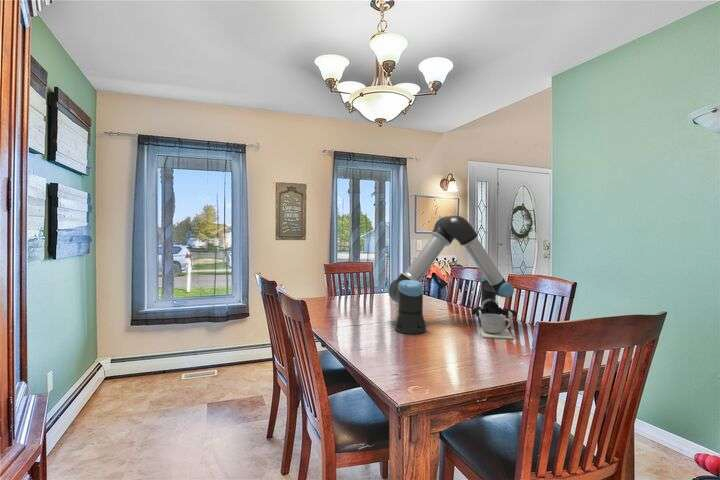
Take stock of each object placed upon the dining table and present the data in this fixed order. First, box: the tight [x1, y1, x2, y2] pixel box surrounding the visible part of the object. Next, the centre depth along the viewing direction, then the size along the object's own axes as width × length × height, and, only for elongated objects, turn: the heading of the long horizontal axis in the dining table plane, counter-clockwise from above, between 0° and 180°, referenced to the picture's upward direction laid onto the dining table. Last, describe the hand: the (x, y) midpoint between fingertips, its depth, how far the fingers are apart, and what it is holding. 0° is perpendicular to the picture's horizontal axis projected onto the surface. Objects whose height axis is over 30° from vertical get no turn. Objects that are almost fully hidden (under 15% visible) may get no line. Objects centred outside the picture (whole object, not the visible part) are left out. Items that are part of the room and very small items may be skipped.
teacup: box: [480, 314, 512, 334], centre depth 172 cm, size 14×11×8 cm
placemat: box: [478, 325, 515, 341], centre depth 174 cm, size 13×19×1 cm
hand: (495, 316), depth 173 cm, fingers open, 13 cm apart
